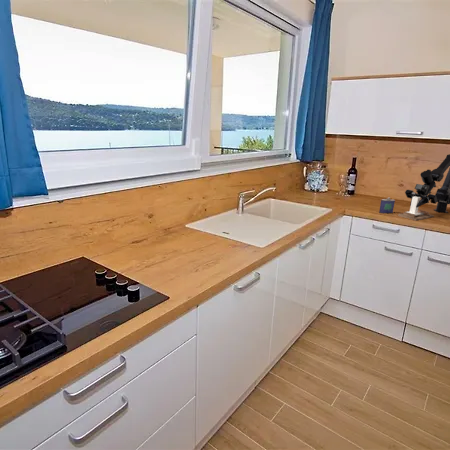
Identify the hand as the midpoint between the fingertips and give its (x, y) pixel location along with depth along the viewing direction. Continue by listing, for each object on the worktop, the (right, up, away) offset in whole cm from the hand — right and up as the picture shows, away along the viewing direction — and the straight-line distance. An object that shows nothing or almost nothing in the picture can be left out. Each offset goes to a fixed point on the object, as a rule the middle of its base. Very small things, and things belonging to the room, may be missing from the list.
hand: (413, 206), depth 210 cm
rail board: (+4, -6, +5) cm, 9 cm away
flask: (-12, -4, +10) cm, 17 cm away
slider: (+1, -5, +2) cm, 5 cm away
